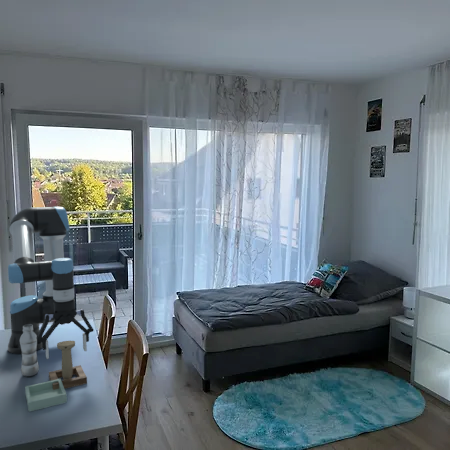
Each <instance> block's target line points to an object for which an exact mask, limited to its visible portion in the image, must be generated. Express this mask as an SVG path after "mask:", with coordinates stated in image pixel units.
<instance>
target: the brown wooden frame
mask: <svg viewBox="0 0 450 450" xmlns="http://www.w3.org/2000/svg"><path fill="white" fill-rule="evenodd" d="M74 375H76V377H72V379H67V380H63V379H62V380H61V381H62V384H63V386H64V389H65V390H66V389H68V388H74V387H78V386H83V385H87V384H88V376H87V375H86V373H85V371H84V369H83V367H82V365H81V364H80V365H76V366H73V374H72V376H74ZM61 378H63V376H62V368H61V369H57V370H56V369H55V370H52V371H48V381H52V380H57V379H61ZM52 385H53V390H55V389H59V383H58V382H56V383H52Z"/></svg>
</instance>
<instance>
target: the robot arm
mask: <svg viewBox="0 0 450 450" xmlns="http://www.w3.org/2000/svg"><path fill="white" fill-rule="evenodd" d="M8 230H9V233H10V235H11V236H12V255H13V261H12V262H13V263H10V264H8V266H7V273H8V274H7V276H8V283H10V284H12V285H13V284H26V283H35V282H44V281H45V291H44V292H43V293H42V297H41V298H39V297H38V295H36V294H35V295H31V294H30V295H26V296H21V297H19V298H16V299H14V300H13V301H11V302H10V305H9V309H10V310H9V314H10V328H11V329H10V330H11V331H10V332H11V334H10V337H9V340H8V345H7V350H8V351H7V352H8V353H11V354H15V355H22V350H21V345H20V337H21V335H22V334H23V326H24V325H28V324H32V325H33V332H34V333H35V334H36V335H37V337H36V339H37V350H36V351H38V350H40V349H42V350H43V351H45V358H46V360H49V359H50V357H49V356H50V353H49V352H50V351H49V340H48V339H49V338H50V337H51V335H52V334H53V333H54V331H55V330H56V328H57V327H58V326H59V325H65V324H71V323H73V324H74V325H75V326H76V327H78V328H79V329H80V330H81V331H82V348H83V349H82V350H83V351H84V352H87V351H88V349H87V347H88V346H87V343H88V342H89V341H90V333H92V332H94V328H93V326H92V324H91V323H90V321H89V320H88V318H87V316H86V315H85V310H84V309H83V308H80V309H78V310H76V301H75V280H74V279H75V277H74V268H75V267H74V262H73V259H72V258H71V257H70V258H69V257H65V253H64V238H65V237H66V236H67V232H69V231H70V222H69V216H68V213H67V210H66V209H65V207H63V206H43V207H42V206H41V207H40V206H39V207H37V206H35V207H26V208H24V209H22V210H20V211H18V212H17V213H16V214H15V215H14V216H13V217H12V219H10V222H9V229H8ZM34 233H35V234H36V233H39V237H40V238H41V240H43V255H44V256H43V258H44V261H43V260H42V261H35V254H34V253H35V252H34V243H33V234H34ZM77 315H78V316H80V317H81V319H82V320H83V321H84V324H85V325H86V326H87V328H86V327H85V326H84V325H83V324H82V323H80V321H78V320H77V319H76V316H77ZM49 323H52V324H51V325H50V327H49V328H48V329H47V327H48V325H49ZM40 325H41V327H40ZM46 329H47V330H46Z"/></svg>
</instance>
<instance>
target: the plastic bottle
mask: <svg viewBox="0 0 450 450" xmlns="http://www.w3.org/2000/svg"><path fill="white" fill-rule="evenodd" d="M36 337H37V335H36V334H35V333H34V332H33V325H32V324H28V325H24V326H23V334H22V335H21V337H20V345H21V350H22V354H21V366H20V371H21V375H22V376H24V377H32V376H33V377H34V375H36V374H38V373H39V369H40V365H39V361H38V355H37V351H38V350H37V339H36Z"/></svg>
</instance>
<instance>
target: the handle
mask: <svg viewBox="0 0 450 450" xmlns="http://www.w3.org/2000/svg"><path fill="white" fill-rule="evenodd" d="M75 346H76V341H75V340H64V341H60V342H57V343H56V348H57V349H58V350H61V369H62V376H63V377H62V378H63V379H62V381H63V380H67V379H72V378H73V375H72V374H73V367H74V365H73V357H72V349H73V348H74V347H75Z"/></svg>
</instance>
